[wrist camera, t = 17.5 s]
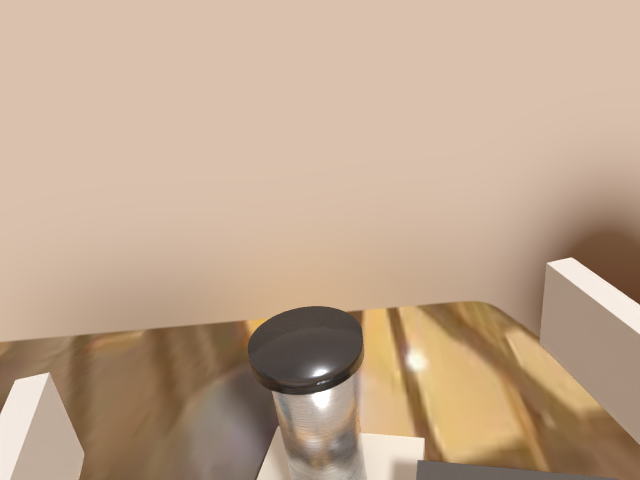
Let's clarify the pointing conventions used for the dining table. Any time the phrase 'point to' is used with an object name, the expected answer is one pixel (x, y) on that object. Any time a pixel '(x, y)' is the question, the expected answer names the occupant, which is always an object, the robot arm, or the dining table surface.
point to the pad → (379, 452)
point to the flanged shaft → (314, 389)
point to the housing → (487, 473)
